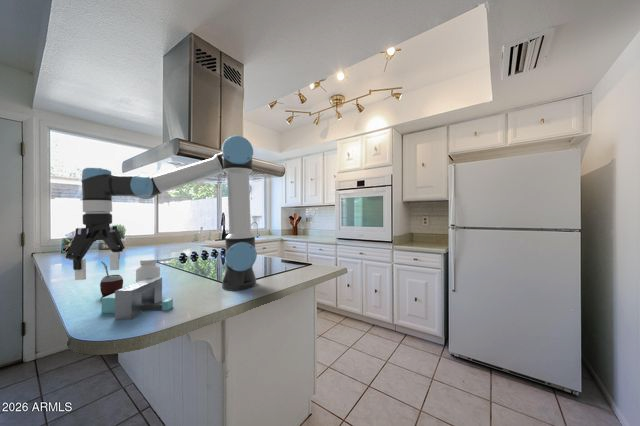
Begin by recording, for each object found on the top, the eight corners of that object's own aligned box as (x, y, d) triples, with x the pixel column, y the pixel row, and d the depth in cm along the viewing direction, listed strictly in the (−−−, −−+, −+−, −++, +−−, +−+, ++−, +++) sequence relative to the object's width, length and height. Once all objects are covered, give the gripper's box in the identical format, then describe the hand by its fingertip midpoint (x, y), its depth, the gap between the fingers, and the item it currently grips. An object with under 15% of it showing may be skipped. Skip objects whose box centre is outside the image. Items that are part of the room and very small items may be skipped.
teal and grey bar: (174, 305, 87) (174, 292, 87) (166, 311, 82) (166, 296, 82) (113, 307, 85) (113, 293, 85) (101, 313, 80) (101, 298, 80)
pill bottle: (150, 299, 93) (150, 261, 93) (130, 299, 93) (130, 261, 93) (164, 293, 101) (164, 257, 101) (145, 293, 101) (145, 257, 101)
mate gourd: (120, 291, 103) (121, 256, 103) (125, 295, 98) (125, 259, 98) (97, 296, 97) (97, 259, 97) (100, 300, 92) (101, 261, 92)
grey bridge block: (161, 301, 92) (162, 277, 92) (131, 319, 76) (131, 290, 76) (148, 301, 91) (148, 277, 91) (114, 319, 75) (115, 290, 75)
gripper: (115, 213, 95) (116, 266, 95) (47, 213, 70) (48, 285, 70) (134, 213, 96) (135, 265, 96) (74, 212, 71) (75, 284, 71)
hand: (98, 274), depth 83 cm, fingers open, 13 cm apart
